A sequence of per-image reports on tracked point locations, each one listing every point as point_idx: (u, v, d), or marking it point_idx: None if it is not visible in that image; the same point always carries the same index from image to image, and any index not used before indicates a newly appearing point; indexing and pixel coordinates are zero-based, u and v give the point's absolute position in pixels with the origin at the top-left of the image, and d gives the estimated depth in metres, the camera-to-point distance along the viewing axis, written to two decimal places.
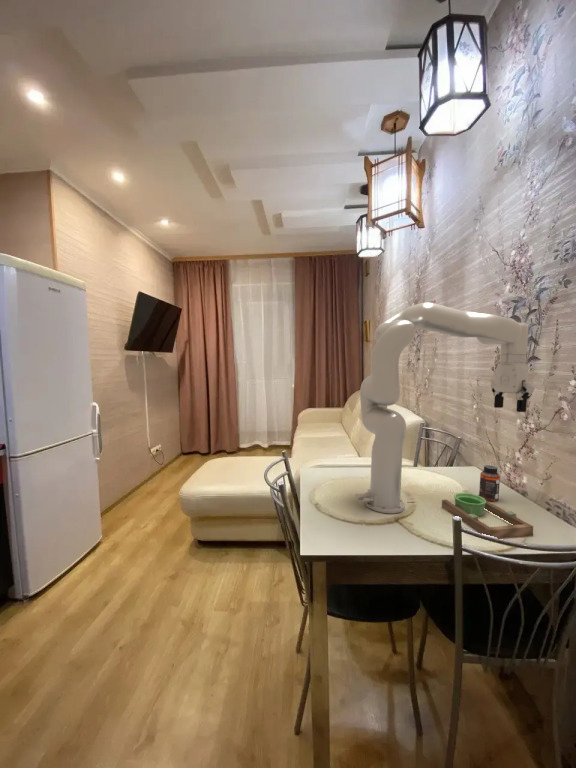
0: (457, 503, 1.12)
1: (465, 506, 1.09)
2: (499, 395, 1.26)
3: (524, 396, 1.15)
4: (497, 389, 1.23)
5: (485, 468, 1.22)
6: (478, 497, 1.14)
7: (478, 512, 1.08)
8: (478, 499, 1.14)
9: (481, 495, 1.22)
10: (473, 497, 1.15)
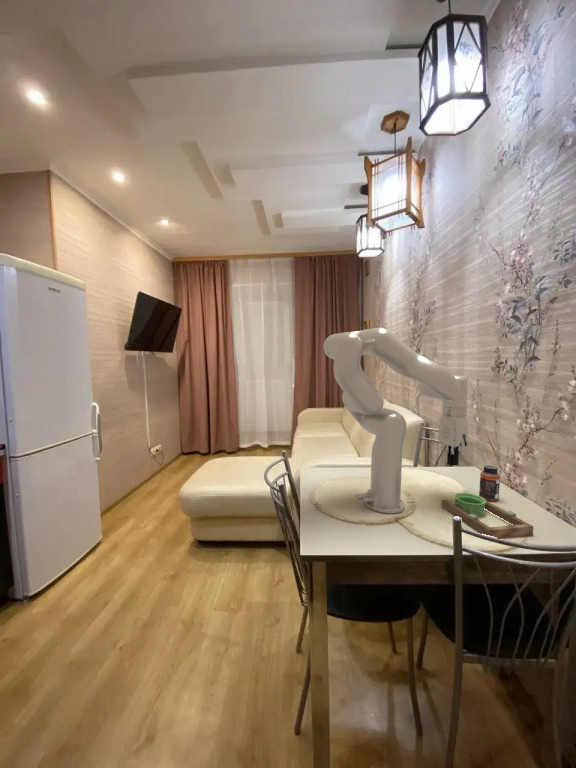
0: (457, 503, 1.12)
1: (465, 506, 1.09)
2: None
3: (455, 451, 1.19)
4: (441, 440, 1.23)
5: (485, 468, 1.22)
6: (478, 497, 1.14)
7: (478, 512, 1.08)
8: (478, 499, 1.14)
9: (481, 495, 1.22)
10: (473, 497, 1.15)
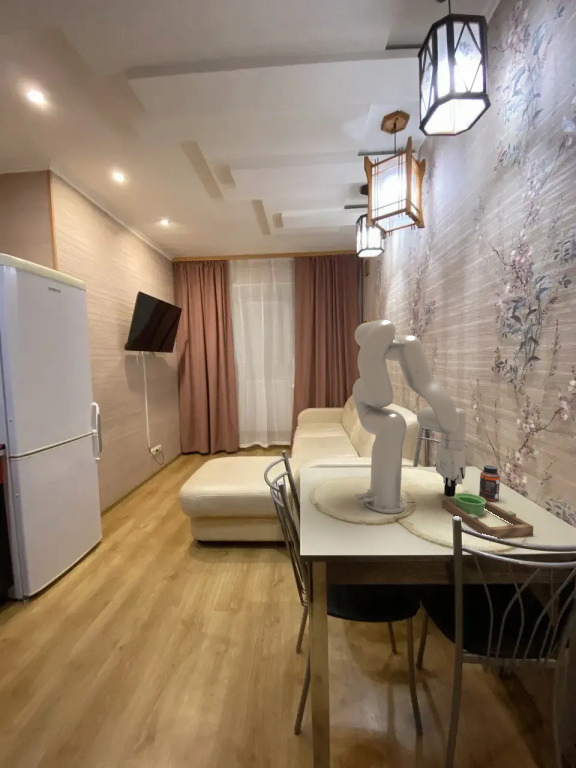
0: (457, 503, 1.12)
1: (465, 506, 1.09)
2: None
3: (452, 483, 1.20)
4: (438, 471, 1.24)
5: (485, 468, 1.22)
6: (478, 497, 1.14)
7: (478, 512, 1.08)
8: (478, 499, 1.14)
9: (481, 495, 1.22)
10: (473, 497, 1.15)
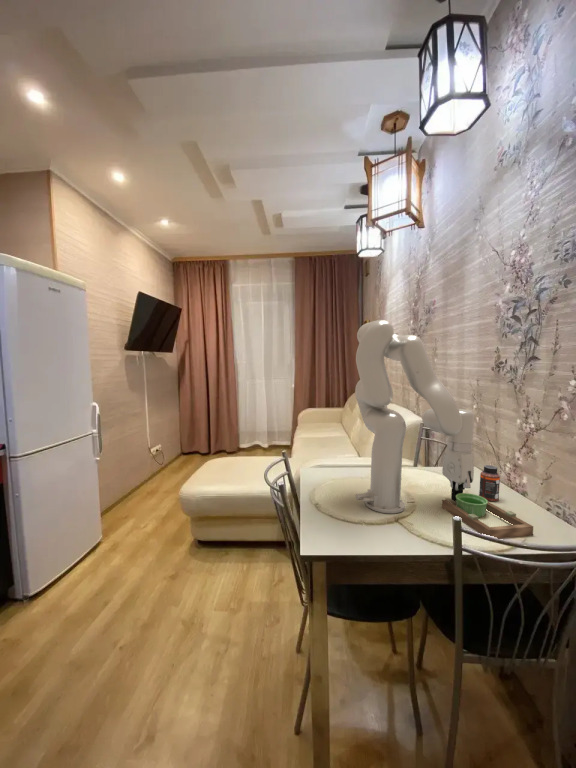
0: (458, 503, 1.11)
1: (466, 506, 1.09)
2: None
3: (459, 487, 1.16)
4: (445, 475, 1.20)
5: (485, 468, 1.22)
6: (480, 497, 1.13)
7: (480, 512, 1.08)
8: (479, 499, 1.13)
9: (481, 495, 1.22)
10: (474, 497, 1.14)
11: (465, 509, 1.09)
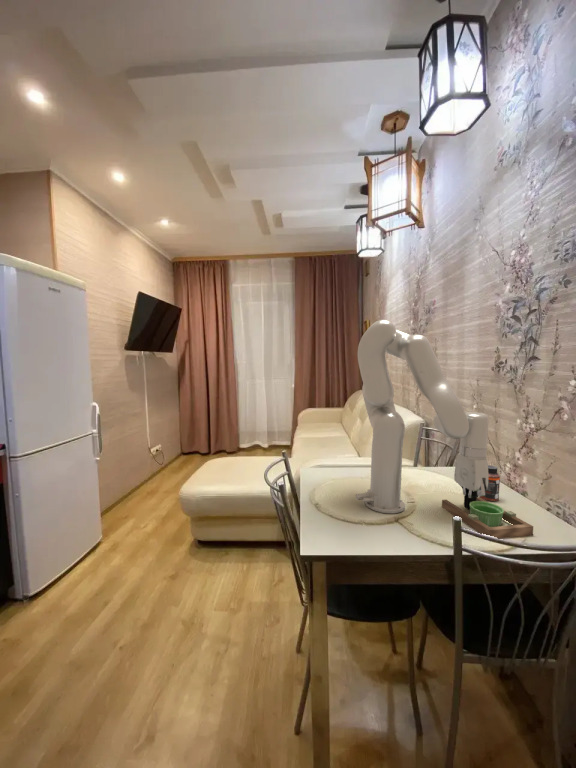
0: (473, 512, 1.05)
1: (482, 516, 1.02)
2: None
3: (473, 495, 1.10)
4: (457, 481, 1.14)
5: None
6: (495, 506, 1.07)
7: (496, 522, 1.02)
8: (495, 508, 1.07)
9: None
10: (489, 505, 1.08)
11: (480, 518, 1.03)
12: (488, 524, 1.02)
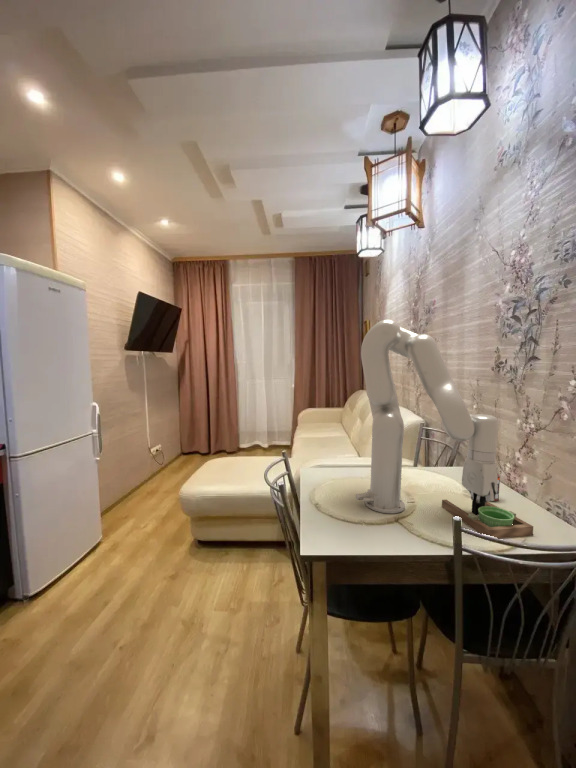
0: (482, 518, 1.01)
1: (491, 522, 0.99)
2: None
3: (481, 500, 1.06)
4: (465, 486, 1.10)
5: None
6: (504, 511, 1.03)
7: None
8: (504, 513, 1.03)
9: None
10: (498, 511, 1.05)
11: (490, 525, 0.99)
12: None
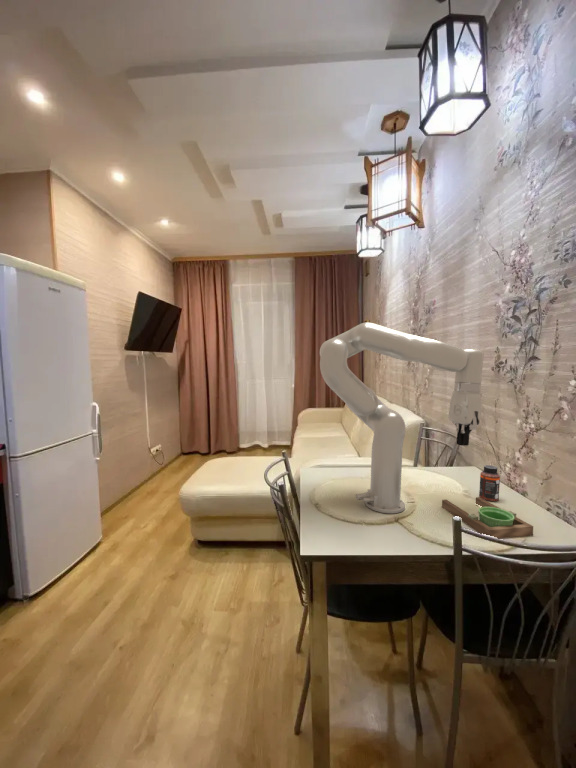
0: (482, 519, 1.01)
1: (492, 522, 0.99)
2: None
3: (465, 430, 1.11)
4: (451, 418, 1.16)
5: (485, 468, 1.22)
6: (504, 512, 1.03)
7: None
8: (504, 514, 1.03)
9: (481, 495, 1.22)
10: (498, 511, 1.05)
11: (490, 525, 0.99)
12: None
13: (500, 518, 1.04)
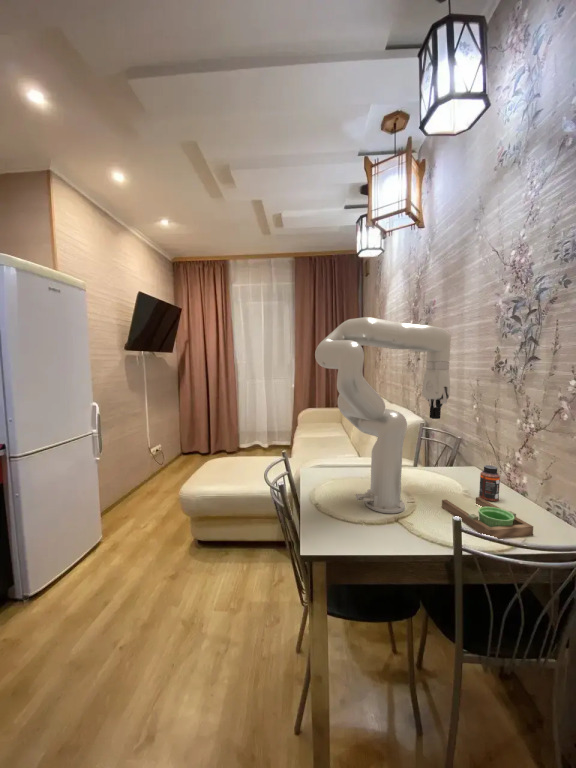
0: (482, 519, 1.01)
1: (492, 522, 0.99)
2: None
3: (437, 404, 1.23)
4: (424, 395, 1.27)
5: (485, 468, 1.22)
6: (504, 512, 1.03)
7: None
8: (504, 514, 1.03)
9: (481, 495, 1.22)
10: (498, 511, 1.05)
11: (490, 525, 0.99)
12: None
13: (500, 518, 1.04)
